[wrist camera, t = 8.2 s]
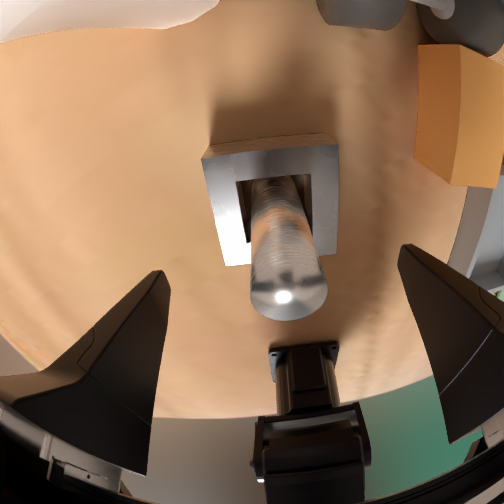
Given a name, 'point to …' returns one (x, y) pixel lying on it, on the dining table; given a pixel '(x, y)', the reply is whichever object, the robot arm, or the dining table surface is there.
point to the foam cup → (94, 15)
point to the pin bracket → (272, 165)
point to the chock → (460, 115)
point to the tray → (482, 237)
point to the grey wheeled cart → (427, 19)
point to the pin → (283, 253)
